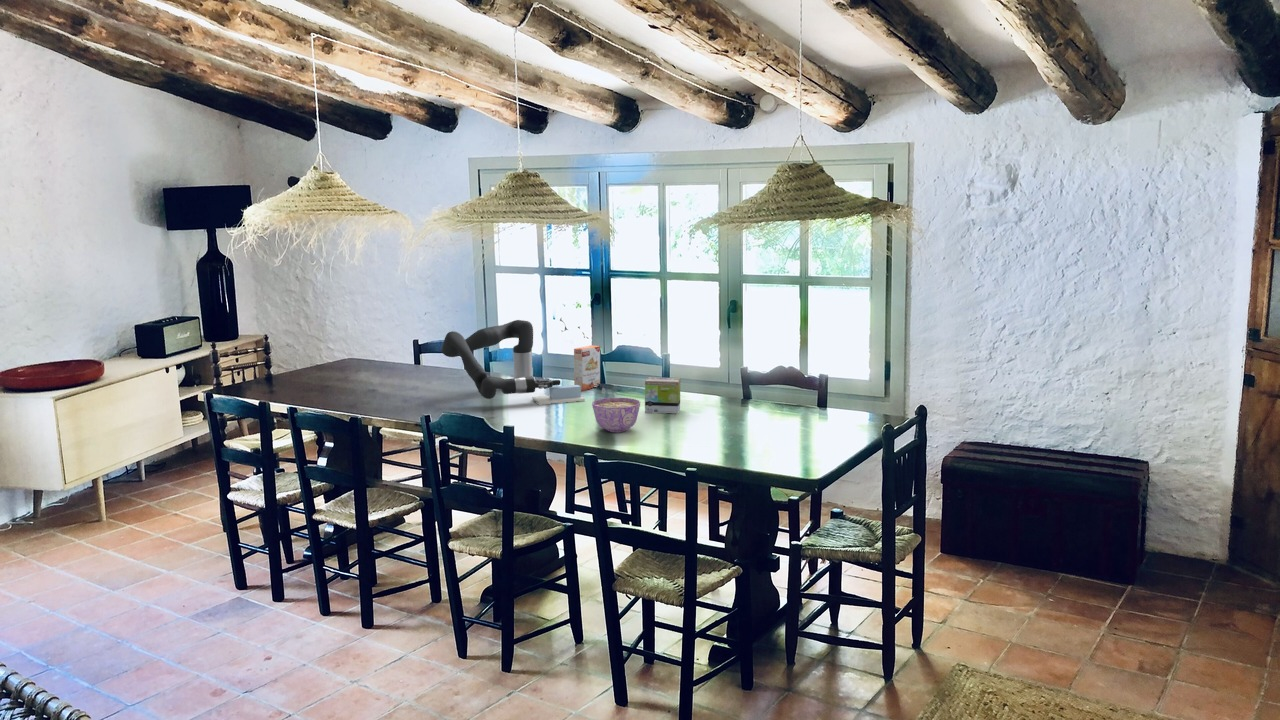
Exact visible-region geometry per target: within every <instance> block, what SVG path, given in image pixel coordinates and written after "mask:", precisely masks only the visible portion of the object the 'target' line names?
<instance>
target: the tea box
mask: <svg viewBox="0 0 1280 720" xmlns="http://www.w3.org/2000/svg"><path fill="white" fill-rule="evenodd" d="M680 409H681V378H680V377H656V376H655V377H653V376H652V377H651V376H650V377H649V376H648V377H647V378H646V380H645V381H644V413H645V414H666V413H678V414H679V411H680Z"/></svg>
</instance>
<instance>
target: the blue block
mask: <svg viewBox="0 0 1280 720" xmlns="http://www.w3.org/2000/svg"><path fill="white" fill-rule="evenodd" d="M548 390H549V391H548V393H549V396H550V398H551V399H563V398H575V397H581V396H582V391H581V386H579V385H574V384H573V385H554V386H552V387H550V388H548Z"/></svg>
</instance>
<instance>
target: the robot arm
mask: <svg viewBox="0 0 1280 720" xmlns="http://www.w3.org/2000/svg"><path fill="white" fill-rule="evenodd" d="M513 338H514V339H518V342H517V344H516V345H514V346H513V348H512V350H513V351H512V352H513V353H512V354H513V355H512V356H513V378H512V377H511V378H503V377H502V378H501V377H496V376H488V374H487V372H486V370H485V369H484V368H483V366H482V365H481V364H480V362H478V360H477V359H476V357H475V355H474V354H473V351H476V350H480V349H484V348H488V347H489V348H490V347H492V346H493V347H494V346H496V345H498V344H500V342H501V341H503V340H506V339H513ZM533 347H534V326H533V324H532V323H531V321H529V320H524V319H523V320H522V319H521V320H520V319H516V320H513V321H509V322H507V323H504V324H501V325H494V326H489V327H484V328H481V329H478V330H477V331H474V332H473V333H472V334H470V335H469V336H468V337H466V338H464V336H463V335H462V334H461V333H459V332H458V331H453V330H452V331H448V332H447V333H446V335H445V336H444V339H443V342H442V346H441V353H442V354H443V355H444V356H445V357H449V358H455V357H459V356H460V358H461V361H462V365H463V367H464V369H465V371H466V373H467V374H468V376H469V377H470V378H471V380H472V382H474V384H475V386H476V389H477V391H478V392H479V394H480V395H481V397H483V398H484V399H488V400H491V399H493V398H495V396H496V394H497V389H499V390H501V392H502V394H503V395H509V394H510V395H512V394H513V395H514V394H521V395H522V394H532V393H535V392H536V389H540V390H541V389H544V390H545V389H549V388H550V387H554V386H561V380H559V379H553V380H552V379H548V378H545V379H544V378H537V379H536V380H535V377H534V376H533V352H532V350H533Z"/></svg>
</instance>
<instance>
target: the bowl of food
mask: <svg viewBox="0 0 1280 720" xmlns="http://www.w3.org/2000/svg"><path fill="white" fill-rule="evenodd" d="M591 405H592V408H593V409H592V410H593V413H594V414H593V415H594V417H595V421H596V423H597V425H599V427H600V428H602V429H603V430H606V431H607V432H609V431H610V433H622V432H623V431H624V432H626V431H627V430H629V429H630V428H633V426H635V424H636V423H637V419H638V417H639V411H640V407H641V401H640V400H639V399H636V398H631V397H630V398H629V397H606V398H605V397H603V398H599V399H597V400H593V401H592V402H591Z"/></svg>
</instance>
